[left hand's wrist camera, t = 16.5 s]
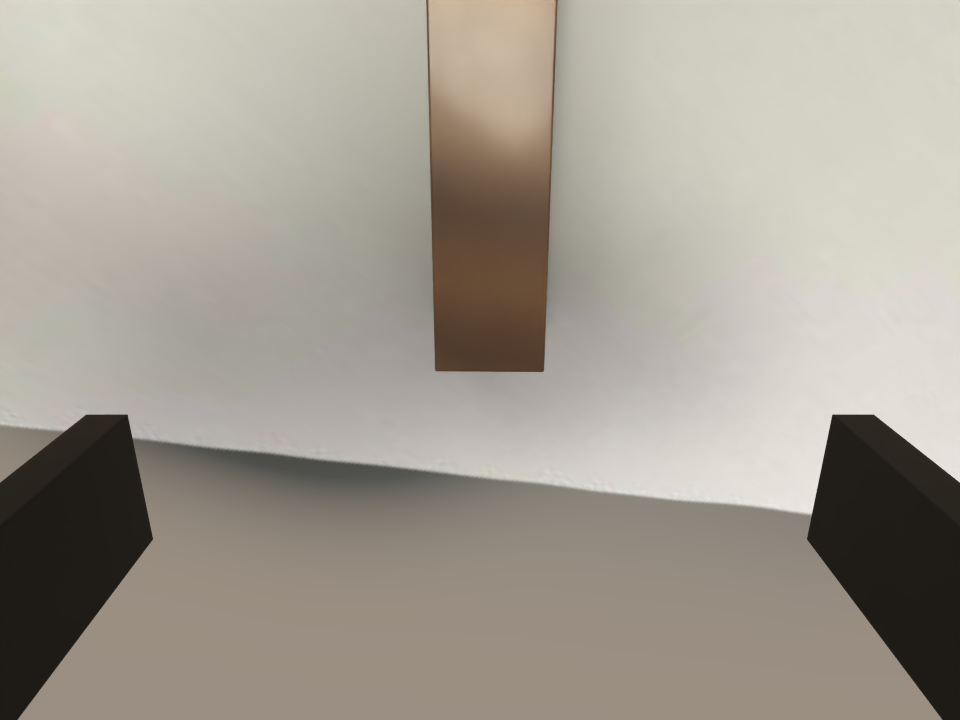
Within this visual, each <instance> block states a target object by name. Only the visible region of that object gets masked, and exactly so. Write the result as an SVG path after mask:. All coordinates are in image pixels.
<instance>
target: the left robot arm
mask: <svg viewBox="0 0 960 720" xmlns="http://www.w3.org/2000/svg"><path fill="white" fill-rule="evenodd" d="M152 540H153V537H152V532H151V527H150V522H149V517H148V513H147V508H146V503H145V498H144V493H143V488H142V483H141V478H140V474H139V469H138V464H137V459H136V454H135V449H134V444H133V439H132V434H131V430H130V425H129V420H128V415H85V416H84V417H83V418H82V419H80V420H79V421H78V422H76V423H75V424H74V425H73V426H71V427H70V428H69V429H68V430H66V431H65V432H64V433H63V434H61V435H60V436H59V437H57V438H56V439H55V440H54V441H52V442H51V443H50V444H49V445H47V446H46V447H45V448H44V449H42V450H41V451H40V452H39V453H37V454H36V455H35V456H33V457H32V458H31V459H30V460H28V461H27V462H26V463H25V464H23V465H22V466H21V467H20V468H18V469H17V470H16V471H15V472H13V473H12V474H11V475H9V476H8V477H7V478H6V479H4V480H3V481H2V482H1V483H0V720H18V718H19V717H20V716H21V714H22V713H23V712H24V710H25V709H26V708H27V706H28V705H29V704H30V702H31V701H32V700H33V698H34V697H35V696H36V694H37V693H38V692H39V690H40V689H41V688H42V686H43V685H44V684H45V682H46V681H47V680H48V678H49V677H50V676H51V674H52V673H53V672H54V670H55V669H56V668H57V666H58V665H59V664H60V662H61V661H62V660H63V658H64V657H65V656H66V654H67V653H68V652H69V650H70V649H71V648H72V646H73V645H74V644H75V642H76V641H77V640H78V638H79V637H80V636H81V634H82V633H83V632H84V630H85V629H86V628H87V626H88V625H89V624H90V622H91V621H92V620H93V618H94V617H95V616H96V614H97V613H98V612H99V610H100V609H101V608H102V606H103V605H104V604H105V602H106V601H107V600H108V598H109V597H110V596H111V594H112V593H113V592H114V590H115V589H116V588H117V586H118V585H119V584H120V582H121V581H122V580H123V578H124V577H125V576H126V574H127V573H128V572H129V570H130V569H131V568H132V566H133V565H134V564H135V562H136V561H137V560H138V558H139V557H140V556H141V554H142V553H143V552H144V550H145V549H146V548H147V546H148V545H149V544H150V542H151V541H152ZM807 540H808V541H809V542H810V544H811V545H812V546H813V548H814V549H815V550H816V552H817V553H818V554H819V556H820V557H821V558H822V560H823V561H824V562H825V564H826V565H827V566H828V568H829V569H830V570H831V572H832V573H833V574H834V576H835V577H836V578H837V580H838V581H839V582H840V584H841V585H842V586H843V588H844V589H845V590H846V592H847V593H848V594H849V596H850V597H851V598H852V600H853V601H854V602H855V604H856V605H857V606H858V608H859V609H860V610H861V612H862V613H863V614H864V616H865V617H866V618H867V620H868V621H869V622H870V624H871V625H872V626H873V628H874V629H875V630H876V632H877V633H878V634H879V636H880V637H881V638H882V640H883V641H884V642H885V644H886V645H887V646H888V648H889V649H890V650H891V652H892V653H893V654H894V656H895V657H896V658H897V660H898V661H899V662H900V664H901V665H902V666H903V668H904V669H905V670H906V672H907V673H908V674H909V676H910V677H911V678H912V680H913V681H914V682H915V684H916V685H917V686H918V688H919V689H920V690H921V692H922V693H923V694H924V696H925V697H926V698H927V700H928V701H929V702H930V704H931V705H932V706H933V708H934V709H935V710H936V712H937V713H938V714H939V715H940V717H941V718H942V720H960V483H959V482H958V481H957V480H956V479H954V478H953V477H952V476H951V475H949V474H948V473H947V472H946V471H944V470H943V469H942V468H941V467H939V466H938V465H937V464H935V463H934V462H933V461H932V460H930V459H929V458H928V457H927V456H925V455H924V454H923V453H922V452H920V451H919V450H918V449H916V448H915V447H914V446H913V445H911V444H910V443H909V442H908V441H906V440H905V439H904V438H903V437H901V436H900V435H899V434H897V433H896V432H895V431H894V430H892V429H891V428H890V427H889V426H887V425H886V424H885V423H884V422H882V421H881V420H880V419H878V418H877V417H876V416H875V415H832V420H831V425H830V430H829V434H828V439H827V444H826V449H825V454H824V459H823V464H822V469H821V473H820V478H819V483H818V488H817V493H816V498H815V503H814V508H813V513H812V517H811V522H810V527H809V532H808V537H807Z"/></svg>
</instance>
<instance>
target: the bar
mask: <svg viewBox="0 0 960 720" xmlns="http://www.w3.org/2000/svg"><path fill="white" fill-rule="evenodd" d="M426 2H427V44H428V87H429V130H430V172H431V215H432V258H433V300H434V343H435V370H436V371H492V372H543V371H544V357H545V329H546V302H547V274H548V247H549V219H550V192H551V164H552V136H553V109H554V81H555V54H556V26H557V0H426Z"/></svg>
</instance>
